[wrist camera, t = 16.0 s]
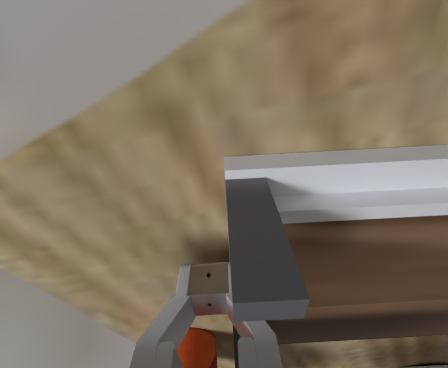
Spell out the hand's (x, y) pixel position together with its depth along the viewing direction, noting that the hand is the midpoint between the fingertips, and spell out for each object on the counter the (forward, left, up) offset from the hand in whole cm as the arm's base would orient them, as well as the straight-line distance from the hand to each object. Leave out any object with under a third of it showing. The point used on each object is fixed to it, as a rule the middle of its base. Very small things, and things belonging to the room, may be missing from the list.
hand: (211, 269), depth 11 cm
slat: (0, -9, -2) cm, 9 cm away
